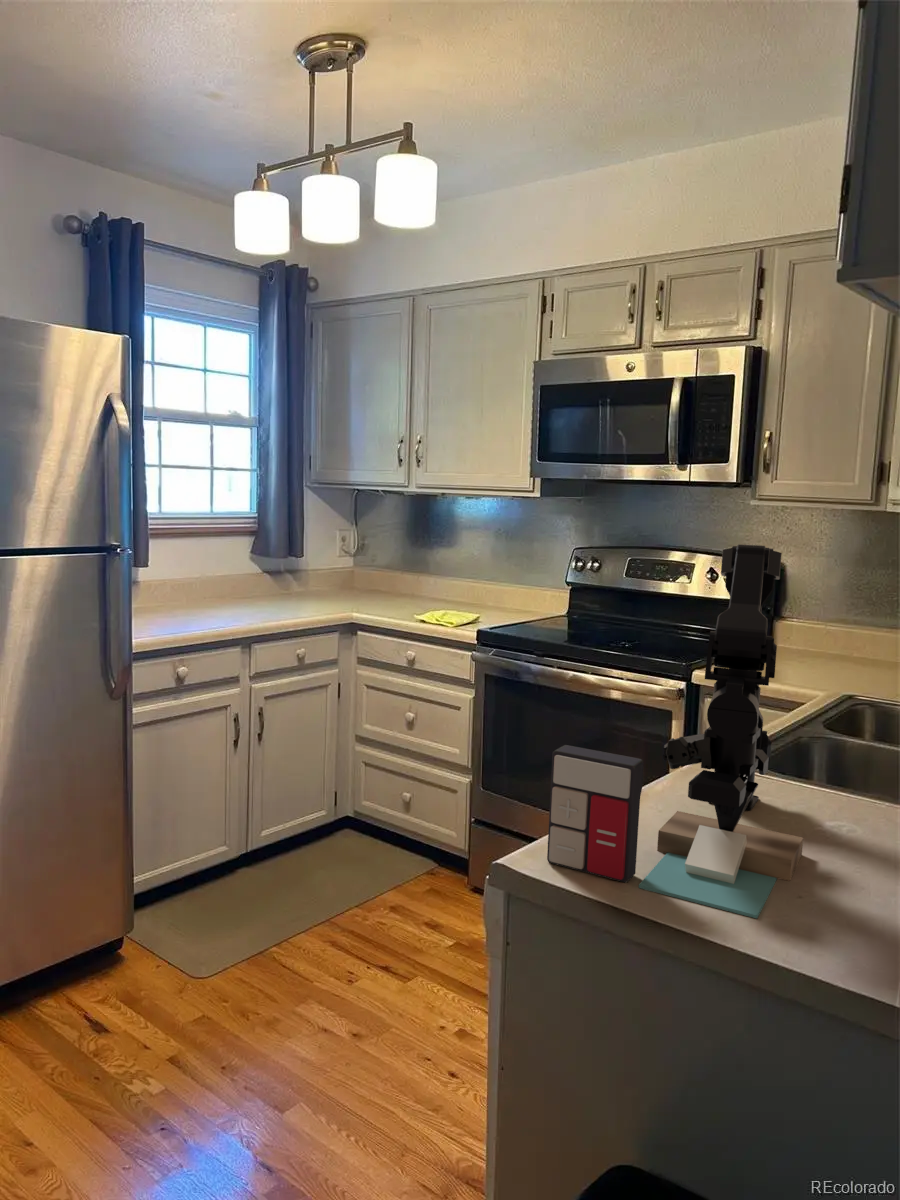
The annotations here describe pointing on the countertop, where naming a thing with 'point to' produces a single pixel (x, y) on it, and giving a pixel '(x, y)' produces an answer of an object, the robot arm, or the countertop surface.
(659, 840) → the wooden board
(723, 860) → the tile
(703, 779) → the robot arm
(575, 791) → the calculator
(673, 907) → the countertop surface
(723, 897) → the mat
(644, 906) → the countertop surface
